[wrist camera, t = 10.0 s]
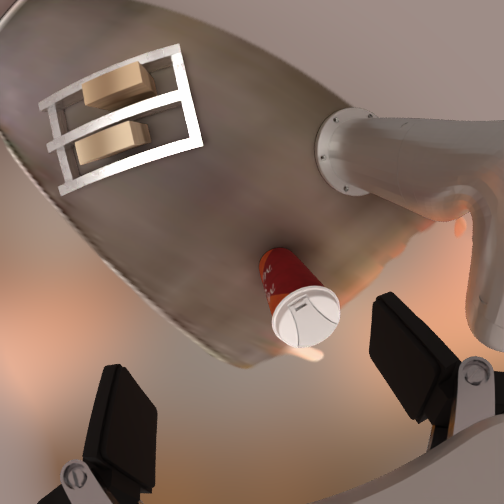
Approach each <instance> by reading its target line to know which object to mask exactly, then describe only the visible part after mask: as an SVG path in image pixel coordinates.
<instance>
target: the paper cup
mask: <svg viewBox="0 0 504 504" xmlns="http://www.w3.org/2000/svg"><path fill="white" fill-rule="evenodd" d="M259 271H260V275H261V279H262V283H263V286H264V290H265V293H266V297H267V300H268V304H269V307H270V311H271V314H272V328H273V331H274V333H275V334H276V336H277V337H278V338H279V339H281V340H282V341H284V342H285V343H286V344H288V345H290V346H292V347H296V348H297V347H298V348H302V347H310V346H314V345H316V344H318V343H320V342H322V341H323V340H325V339H326V338H327V337H329V336H330V335H331V334H332V332H333V331H334V330H335V328H336V327H337V325H338V323H339V320H340V305H339V300H338V298H337V296H336V295H335V294H334V292H333V291H331V290H330V289H328V288H326V287H324V286H323V284H322V283H321V282H320V281H319V280H318V279H317V278H316V277H315V276H314V275H313V274H312V272H311V271H310V270H309V269H308V268H307V267H306V266H305V265H304V264H303V263H302V262H301V261H300V260H299V259H298V258H297V257H296V256H295V255H294V254H293V253H292V252H291V251H290V250H288V249H286V248H274V249H271V250H269V251H268V252H266V253H265V254H264V255H263V257H262V258H261V260H260V264H259Z"/></svg>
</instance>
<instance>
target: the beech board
mask: <svg viewBox="0 0 504 504" xmlns="http://www.w3.org/2000/svg"><path fill="white" fill-rule="evenodd" d="M148 143H151V138H150V133H149V129H148V125H147V124H143V123H138V122H133V121H127V122H124V123H121V124H118V125H116V126H113V127H111V128H108V129H105V130H103V131H100V132H98V133H96V134H93V135H91V136H89V137H86V138H84V139H82V140H80V141H77V142H75V146H76V150H77V154H78V158H79V162H80V165H83V164H86V163H90V162H93V161H97V160H100V159H104V158H108V157H111V156H113V155H116V154H119V153H122V152H124V151H127V150H130V149H133V148H136V147H139V146H142V145H145V144H148Z"/></svg>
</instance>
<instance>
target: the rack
mask: <svg viewBox="0 0 504 504" xmlns="http://www.w3.org/2000/svg"><path fill="white" fill-rule="evenodd" d="M136 61H139V63H140V64H141V65H142V66H143V67H144V68H145V69H146V71H147V72H148V73H150V72H154V71H157V70H160V69H163V68H167V67H170V66H173V67H174V71H175V76H176V80H177V84H178V89H179V90H177V91H173V92H170V93H166V94H163V95H160V96H157V97H154V98H151V99H148V100H145V101H142V102H139V103H136V104H133V105H131V106H128V107H125V108H123V109H120V110H117V111H115V112H112V113H110V114H107V115H105V116H103V117H100V118H98V119H96V120H93V121H91V122H89V123H87V124H85V125H83V126H80V127H78V128H76V129H74V130H72V131H70V132H68V127H67V123H66V118H65V113H64V109H65V108H67V107H69V106H71V105H73V104H75V103H77V102H79V101H81V100H83V99H84V96H83V90H82V85H81V84H83V83H85V82H87V81H90V80H92V79H94V78H96V77H98V76H101V75H103V74H105V73H108V72H110V71H113V70H115V69H117V68H120V67H123V66H125V65H128V64H131V63H133V62H136ZM181 105H182V106H183V110H184V114H185V118H186V122H187V126H188V130H189V134H190V138H188V139H184V140H181V141H177V142H174V143H171V144H167V145H164V146H161V147H158V148H155V149H152V150H149V151H146V152H143V153H140V154H137V155H134V156H131V157H128V158H126V159H123V160H120V161H118V162H115V163H112V164H110V165H107V166H105V167H102V168H100V169H97V170H95V171H93V172H90V173H88V174H85V175H83V176H81V177H80V174H79V170H78V167H77V163H76V160H75V156H74V152H73V148H72V146H74V145H75V142H77V141H80V140H82V139H84V138H86V137H89V136H91V135H93V134H96V133H98V132H100V131H103V130H105V129H108V128H111V127H113V126H116V125H118V124H121V123H124V122H127V121H134V120H137V119H140V118H143V117H146V116H149V115H152V114H155V113H158V112H161V111H164V110H168V109H171V108H175V107H178V106H181ZM39 109H40V112H48V113H49V118H50V123H51V128H52V133H53V137H54V140H53V141H51V142H49V143H47V149H48V153H52V152H57V154H58V158H59V162H60V165H61V169H62V172H63V176H64V179H65V184H63V185H61V186H59V187H58V188H59V191H60V195H61V196H62V195H65V194H67V193H69V192H71V191H74V190H76V189H78V188H81V187H83V186H85V185H88V184H90V183H92V182H95V181H97V180H100V179H102V178H105V177H108V176H110V175H113V174H115V173H118V172H121V171H124V170H126V169H129V168H132V167H135V166H138V165H141V164H143V163H146V162H149V161H153V160H156V159H159V158H162V157H165V156H168V155H172V154H175V153H178V152H182V151H185V150H189V149H192V148H196V147H200V146H203V142H202V138H201V134H200V130H199V126H198V122H197V118H196V114H195V109H194V105H193V101H192V97H191V92H190V88H189V84H188V80H187V75H186V71H185V67H184V62H183V58H182V53H181V49H180V45H179V44H175V45H172V46H168V47H165V48H161V49H158V50H155V51H151V52H148V53H145V54H142V55H139V56H137V57H134V58H131V59H128V60H126V61H123V62H120V63H118V64H115V65H113V66H110V67H108V68H106V69H103V70H101V71H99V72H96V73H94V74H92V75H90V76H88V77H85V78H83V79H81V80H79V81H77V82H75V83H73V84H71V85H69V86H68V87H66V88H64V89H62V90H60V91H58V92H56V93H55V94H53V95H51V96H49V97H48V98H46V99H44V100H43V101H41V102H39Z"/></svg>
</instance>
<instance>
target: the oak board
mask: <svg viewBox="0 0 504 504" xmlns="http://www.w3.org/2000/svg"><path fill="white" fill-rule="evenodd" d="M81 85H82V90H83V96H84V101H85V105H86V106H90V107H95V108H99V109H104V110H108V111H112V112H113V111H116V110H118V109H121V108H123V107H126V106H129V105H132V104H134V103H137V102H140V101H143V100H146V99H149V98H152V97H155V96H157V91H156V87H155V82H154V79H153V77H152V76H151V75H150V74H149V73H148V72H147V71H146V69H145V68H144V67H143V66H142V65H141V64H140V63H139V61H136V62H133V63H131V64H128V65H125V66H123V67H120V68H117V69H115V70H113V71H110V72H108V73H105V74H103V75H101V76H98V77H96V78H94V79H92V80H90V81H87V82H85V83H83V84H81Z"/></svg>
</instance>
